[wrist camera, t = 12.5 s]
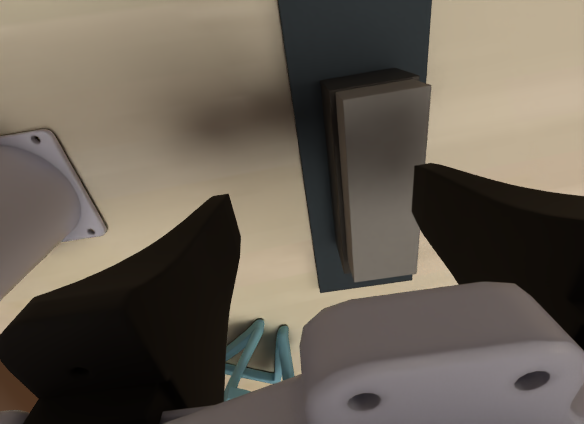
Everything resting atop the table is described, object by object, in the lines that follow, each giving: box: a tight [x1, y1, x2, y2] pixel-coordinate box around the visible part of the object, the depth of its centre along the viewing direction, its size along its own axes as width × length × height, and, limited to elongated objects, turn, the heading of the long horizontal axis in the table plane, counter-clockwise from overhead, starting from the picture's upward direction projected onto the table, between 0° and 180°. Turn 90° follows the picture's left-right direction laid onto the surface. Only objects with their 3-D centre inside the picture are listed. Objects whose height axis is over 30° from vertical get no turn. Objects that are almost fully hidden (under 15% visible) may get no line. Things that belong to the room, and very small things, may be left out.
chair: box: [224, 319, 295, 402], centre depth 26 cm, size 8×8×12 cm
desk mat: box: [278, 0, 432, 293], centre depth 21 cm, size 8×22×1 cm, turn 9°
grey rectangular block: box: [320, 68, 431, 282], centre depth 18 cm, size 12×4×6 cm, turn 9°
